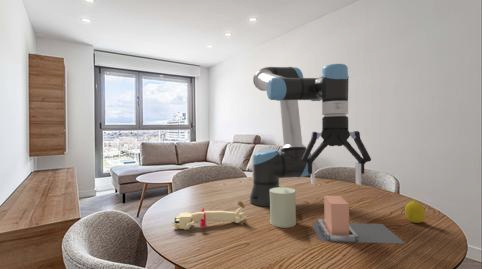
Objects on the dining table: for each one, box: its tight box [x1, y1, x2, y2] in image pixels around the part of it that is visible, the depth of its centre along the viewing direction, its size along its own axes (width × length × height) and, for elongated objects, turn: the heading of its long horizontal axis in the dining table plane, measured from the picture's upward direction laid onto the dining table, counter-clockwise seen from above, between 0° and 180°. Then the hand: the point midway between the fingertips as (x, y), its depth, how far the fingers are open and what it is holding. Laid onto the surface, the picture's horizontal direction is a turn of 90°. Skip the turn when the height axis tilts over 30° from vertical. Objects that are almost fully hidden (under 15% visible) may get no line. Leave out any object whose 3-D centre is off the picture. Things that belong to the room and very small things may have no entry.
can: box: [269, 186, 297, 229], centre depth 86 cm, size 9×9×12 cm
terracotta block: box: [323, 195, 350, 235], centre depth 76 cm, size 9×5×10 cm, turn 174°
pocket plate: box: [311, 218, 406, 245], centre depth 76 cm, size 23×14×2 cm, turn 84°
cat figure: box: [171, 200, 247, 231], centre depth 86 cm, size 10×9×25 cm
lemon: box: [404, 200, 426, 224], centre depth 82 cm, size 6×6×8 cm
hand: (335, 184), depth 76 cm, fingers open, 13 cm apart
